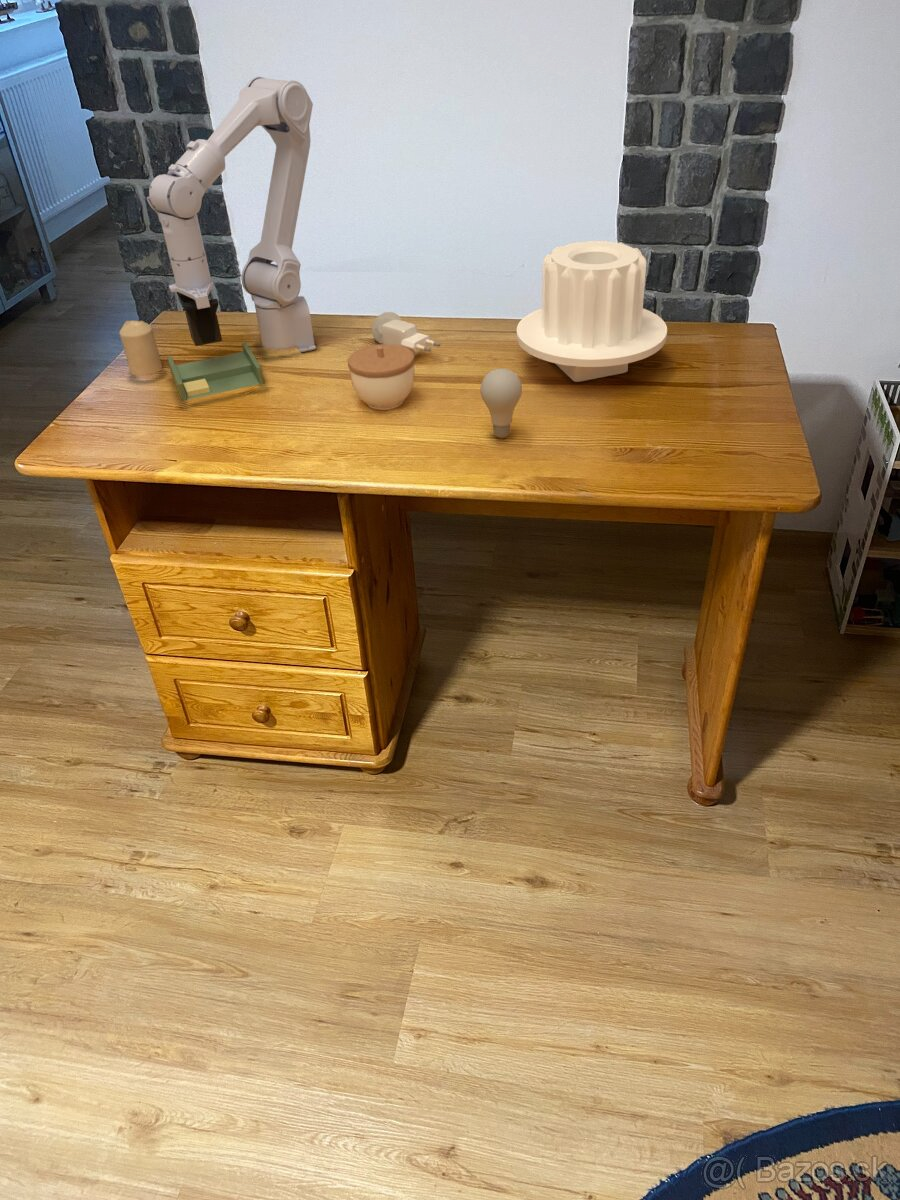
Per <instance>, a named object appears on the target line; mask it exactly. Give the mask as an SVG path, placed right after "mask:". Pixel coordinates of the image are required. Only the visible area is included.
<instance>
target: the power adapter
mask: <svg viewBox="0 0 900 1200" xmlns="http://www.w3.org/2000/svg"><path fill="white" fill-rule="evenodd" d="M382 337H383V344H392V345H399V346H403V347H406V348H408V349H410V350H411V351H412V352H413V354H414V357H416V356H417V355H419V351H425V352H428V353H430V352H431V351H432V349H431V348H430V347H429V346H430V345H432V346H434V347H438V348H439V347H441V343H440V342H438V341H434V340H432V337H431V336H430V335H427V334H425V333H421V332H418V327H417V325H416V324H415V323H411V322H409V321H405V320H403V319H402V320H398V319H394V320H391V321H389V322H387V323H385V324H383V326H382Z"/></svg>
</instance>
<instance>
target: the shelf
mask: <svg viewBox="0 0 900 1200" xmlns="http://www.w3.org/2000/svg"><path fill="white" fill-rule="evenodd" d="M241 345H242V351H239V352H233V353H229V354H224V355H220V356H213V357H209V358H205V359H200V360H199V359H198V360H195V361H189V362H185V363H180V364H175V362H174V359H173V357H172V356H170V357H167V363H168V366H169V370H170V374H171V377H172V379H173V381H174V384H175V386H176V389H177V392H178V394H179V396H180V399H181V401H182V402H184V401H189V400H193V399H198V398H202V397H208V396H211V395H215V394H220V393H226V392H230V391H235V390H240V389H244V388H249V387H253V386H259V385H264V384H265V380H264V375H263V369H262V366H261V365H260V363H259V361H258V360H257V358H256V355H254V353H253V351H252V350H251V348H250V346H249V344H248V343H247V341H244V342H241ZM200 379H206V382H207V384H208V386H209V389H210V393H205V394H200V395H195V396H191V397H188V396H187V394H186V391H185V389H184V385H183V383H186V382H191V381H196V380H200Z"/></svg>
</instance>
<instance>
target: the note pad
mask: <svg viewBox="0 0 900 1200" xmlns="http://www.w3.org/2000/svg"><path fill="white" fill-rule="evenodd" d="M183 385H184V389H185V391H186V394H187V396H188V397H191V396H195V395H200V394H205V393H210V389H209V386H208V384H207V382H206V379H200V380H196V381H191V382H186V383H183Z"/></svg>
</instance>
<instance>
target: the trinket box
mask: <svg viewBox="0 0 900 1200" xmlns="http://www.w3.org/2000/svg"><path fill="white" fill-rule="evenodd" d="M347 367H348V370H349V376H350V381H351V385H352V387H353V390H354V392H355V393H356V395H357V396H358V398H359V399H360V400H361V401H362V402H364V403H365V404H366V405H367V406H368V407H369V408H370V409H372V410H375V411H376V410H377V411H388V410H393V409H396V408H398V407H400V406H401V405H403V404H404V401H405V400H406V399H407V397H408V396H409V395H410V394H411V392H412V390H413V387H414V381H415V356H414V354H413V352H412V351H411V350H410V349H408V348H406V347H403V346H399V345H392V344H374V345H369V346H364V347H362V348H359V349H357V350H355V351H354V352H352V353H351V354H350V355H349V356H348V358H347Z"/></svg>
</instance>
